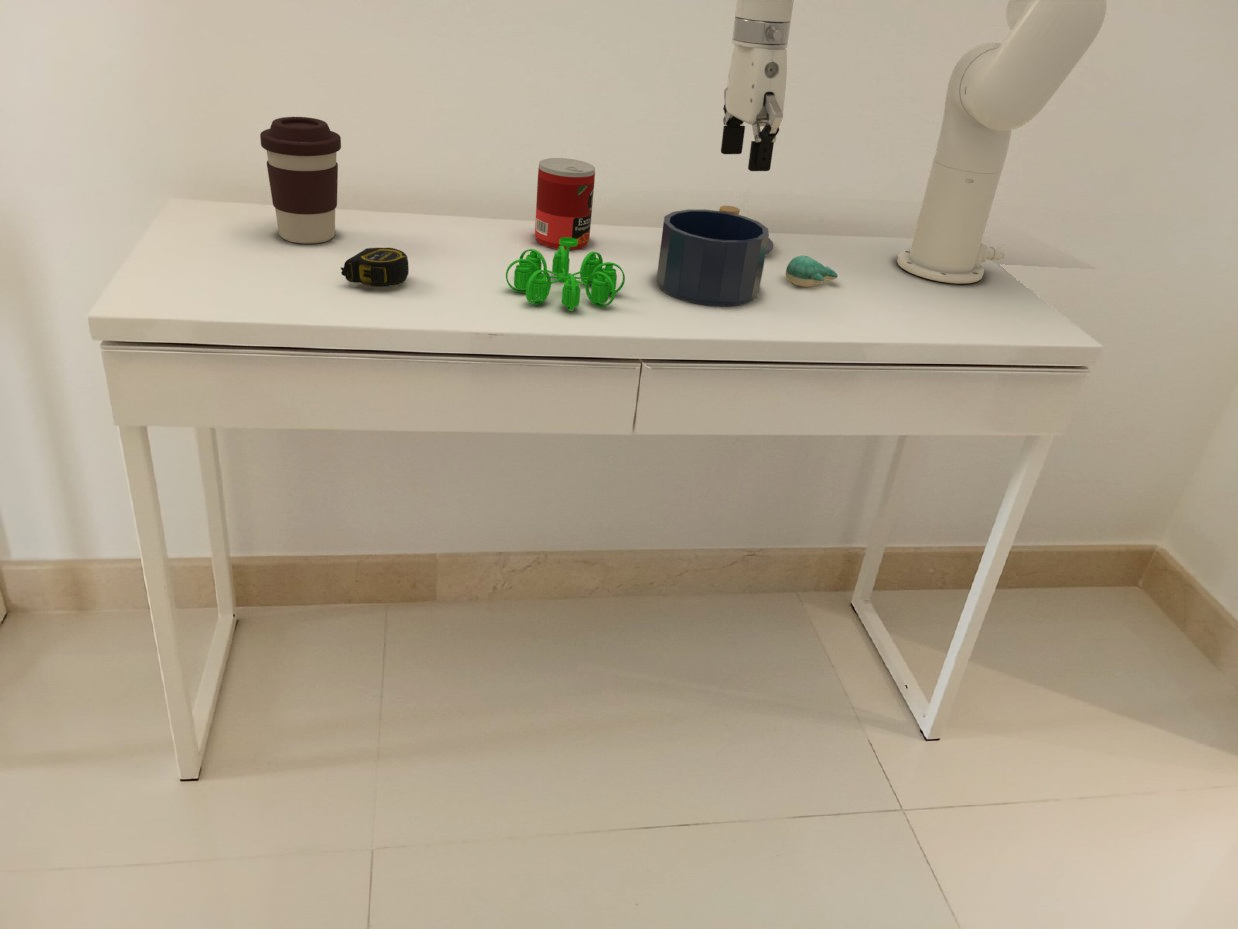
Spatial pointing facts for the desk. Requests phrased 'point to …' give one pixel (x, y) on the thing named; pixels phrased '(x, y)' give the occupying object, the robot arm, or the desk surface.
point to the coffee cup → (303, 177)
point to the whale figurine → (808, 272)
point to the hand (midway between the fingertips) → (744, 161)
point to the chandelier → (565, 276)
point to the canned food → (564, 201)
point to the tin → (711, 257)
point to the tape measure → (377, 267)
